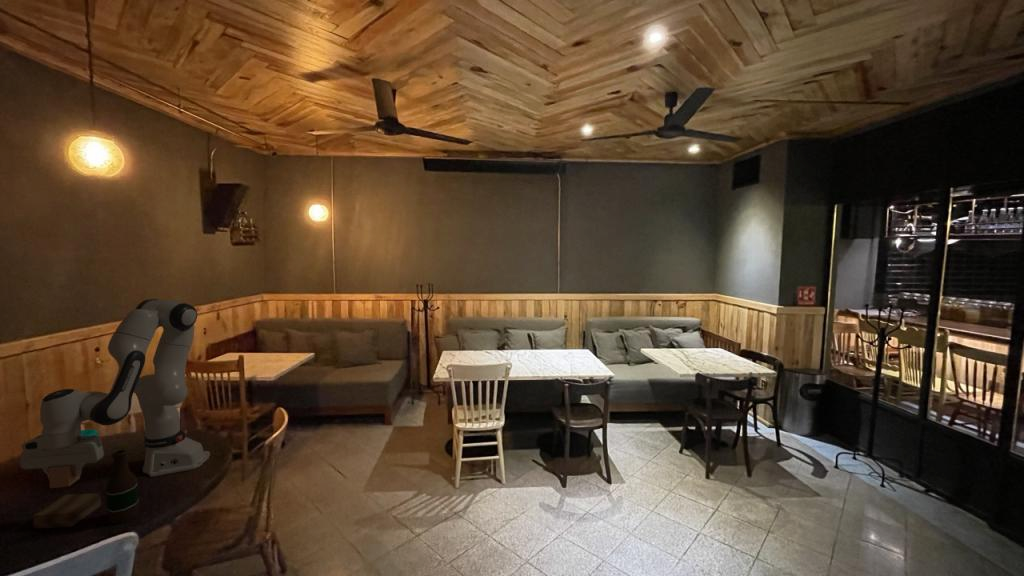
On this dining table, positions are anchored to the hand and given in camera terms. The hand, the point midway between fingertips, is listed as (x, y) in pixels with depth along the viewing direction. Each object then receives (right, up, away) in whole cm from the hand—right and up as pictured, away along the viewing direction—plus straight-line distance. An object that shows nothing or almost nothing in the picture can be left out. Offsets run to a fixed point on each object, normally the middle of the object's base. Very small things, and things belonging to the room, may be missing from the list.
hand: (65, 476), depth 135 cm
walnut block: (0, -15, +2) cm, 15 cm away
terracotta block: (0, -2, 0) cm, 2 cm away
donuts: (-37, -10, +40) cm, 56 cm away
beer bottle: (+18, -15, +2) cm, 24 cm away
